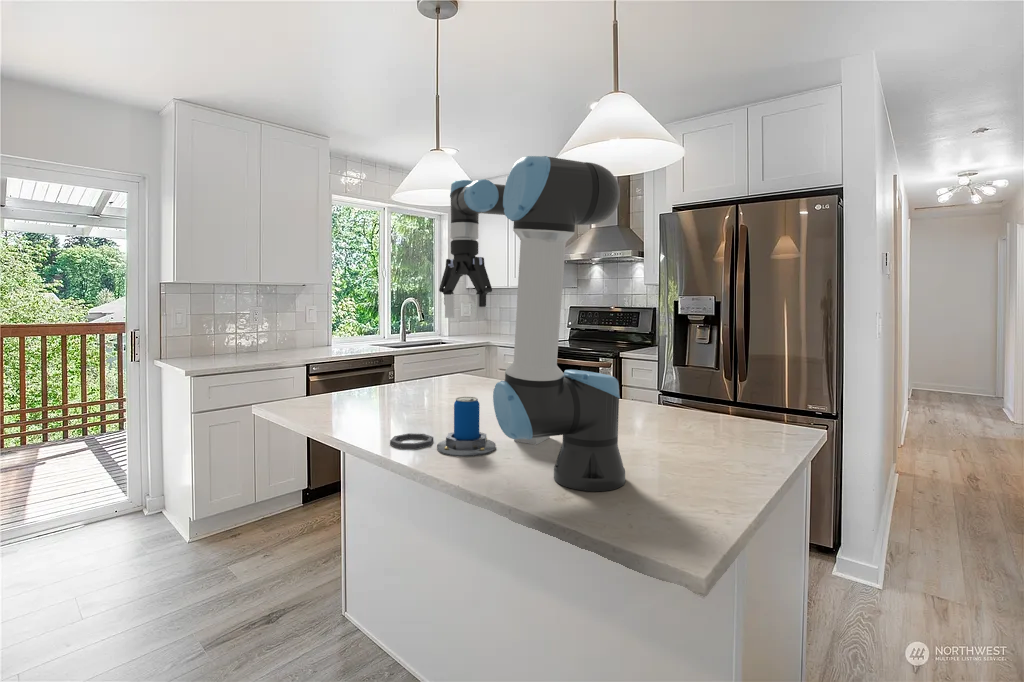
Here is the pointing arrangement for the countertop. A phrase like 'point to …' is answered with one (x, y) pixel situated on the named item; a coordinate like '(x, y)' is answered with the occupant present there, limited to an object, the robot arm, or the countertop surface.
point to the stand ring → (400, 445)
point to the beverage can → (466, 418)
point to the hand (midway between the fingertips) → (464, 318)
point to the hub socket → (466, 446)
